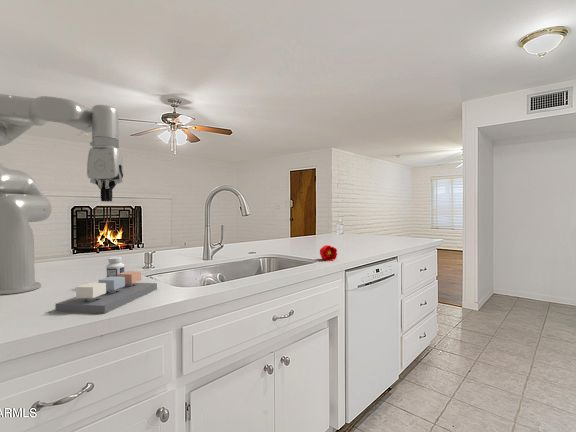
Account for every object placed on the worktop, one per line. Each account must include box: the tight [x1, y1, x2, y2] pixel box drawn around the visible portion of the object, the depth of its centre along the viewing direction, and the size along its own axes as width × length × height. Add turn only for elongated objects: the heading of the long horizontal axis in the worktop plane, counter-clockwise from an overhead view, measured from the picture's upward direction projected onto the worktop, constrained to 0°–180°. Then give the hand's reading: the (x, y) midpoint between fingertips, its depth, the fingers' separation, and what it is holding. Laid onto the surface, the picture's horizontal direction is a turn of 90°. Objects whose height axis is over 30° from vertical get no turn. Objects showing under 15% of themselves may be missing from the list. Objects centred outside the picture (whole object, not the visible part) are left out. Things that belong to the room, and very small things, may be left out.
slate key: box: [98, 276, 125, 294], centre depth 91 cm, size 5×5×5 cm
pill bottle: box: [106, 256, 125, 278], centre depth 108 cm, size 5×5×10 cm
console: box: [54, 282, 158, 314], centre depth 91 cm, size 14×24×2 cm, turn 172°
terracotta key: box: [117, 270, 142, 287], centre depth 99 cm, size 5×5×5 cm
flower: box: [319, 244, 338, 262], centre depth 160 cm, size 8×8×8 cm
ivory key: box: [75, 282, 106, 302], centre depth 83 cm, size 5×5×5 cm
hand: (106, 201), depth 102 cm, fingers closed
